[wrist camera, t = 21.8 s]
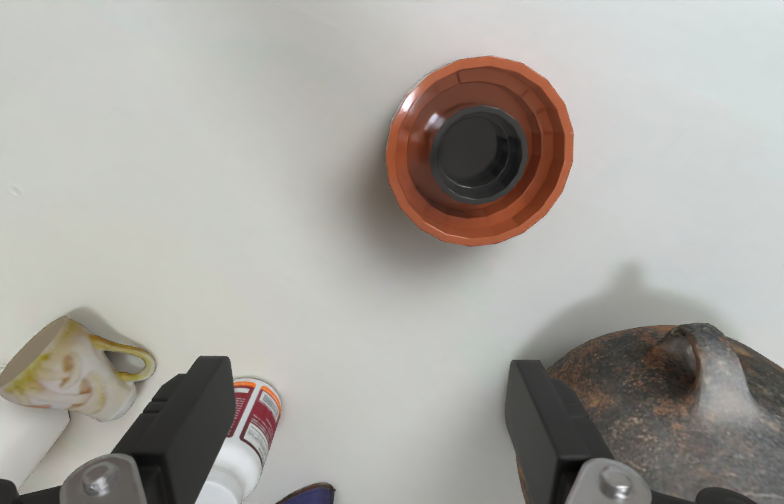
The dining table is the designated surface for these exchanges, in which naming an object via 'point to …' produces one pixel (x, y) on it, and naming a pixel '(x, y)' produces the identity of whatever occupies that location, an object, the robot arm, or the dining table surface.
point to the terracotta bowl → (495, 89)
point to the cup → (26, 438)
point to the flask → (311, 495)
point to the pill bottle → (243, 444)
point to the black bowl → (476, 153)
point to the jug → (683, 409)
